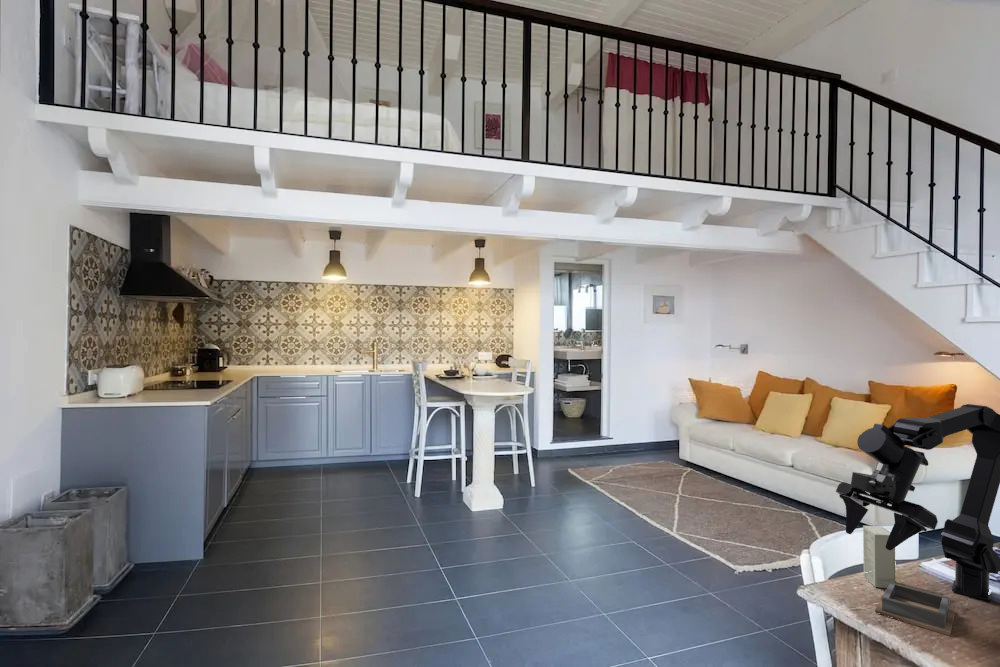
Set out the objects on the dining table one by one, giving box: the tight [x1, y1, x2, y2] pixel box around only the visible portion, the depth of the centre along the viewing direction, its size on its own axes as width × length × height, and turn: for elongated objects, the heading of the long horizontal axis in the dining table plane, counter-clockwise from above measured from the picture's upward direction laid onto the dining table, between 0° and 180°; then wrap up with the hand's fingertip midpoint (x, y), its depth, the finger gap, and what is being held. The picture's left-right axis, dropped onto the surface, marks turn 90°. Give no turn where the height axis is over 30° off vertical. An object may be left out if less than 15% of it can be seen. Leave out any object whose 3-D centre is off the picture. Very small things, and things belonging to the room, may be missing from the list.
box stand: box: [874, 582, 956, 637], centre depth 113 cm, size 12×12×3 cm
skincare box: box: [862, 524, 897, 589], centre depth 126 cm, size 6×4×12 cm
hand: (867, 541), depth 114 cm, fingers open, 9 cm apart
